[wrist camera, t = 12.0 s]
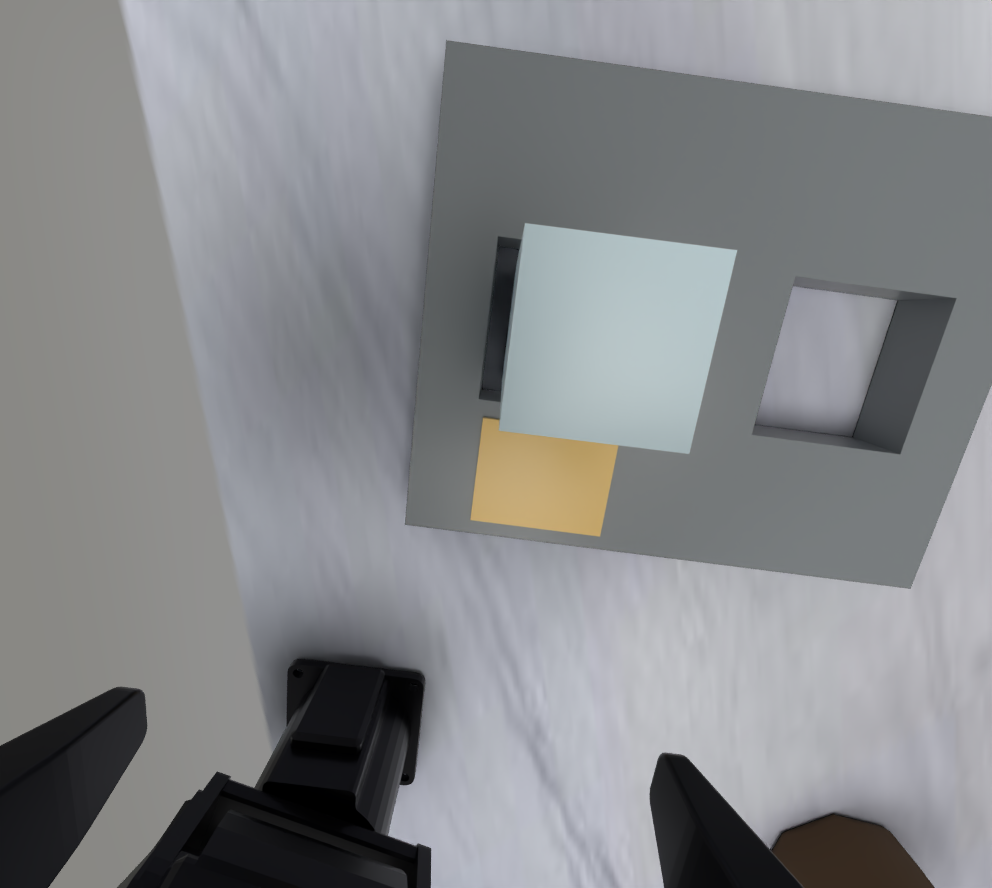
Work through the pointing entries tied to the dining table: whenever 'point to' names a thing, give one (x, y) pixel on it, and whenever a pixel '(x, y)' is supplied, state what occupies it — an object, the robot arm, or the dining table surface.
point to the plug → (611, 337)
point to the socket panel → (745, 319)
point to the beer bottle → (847, 856)
